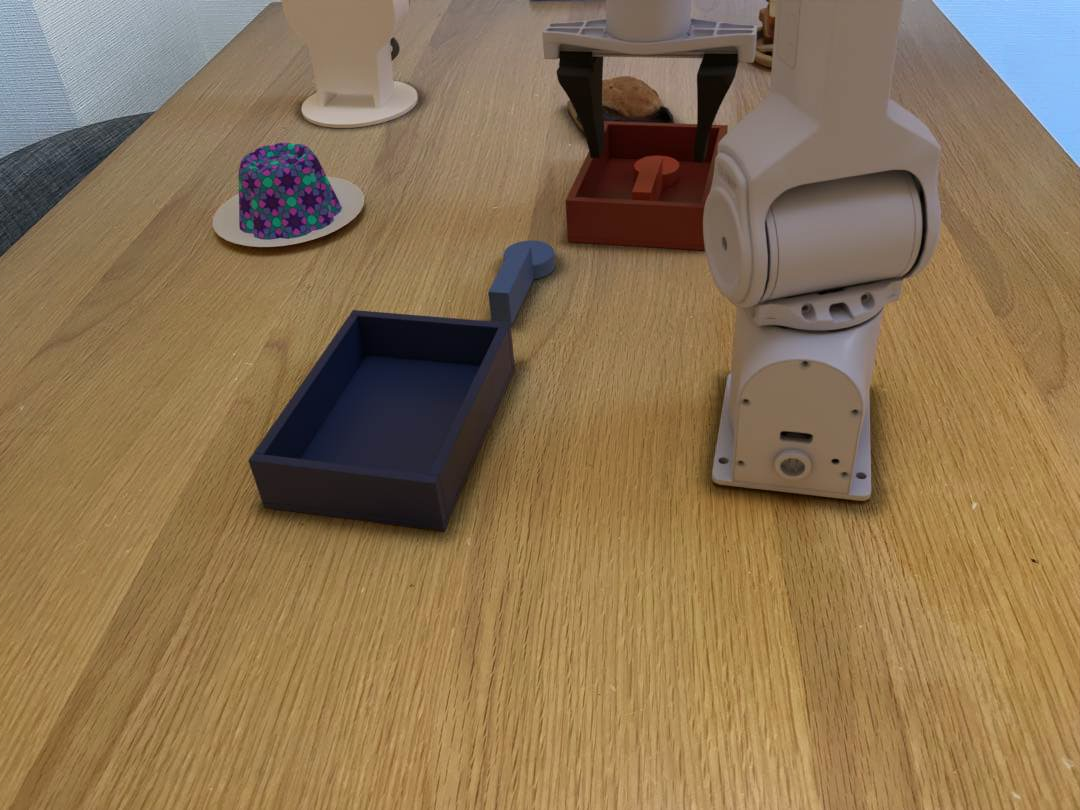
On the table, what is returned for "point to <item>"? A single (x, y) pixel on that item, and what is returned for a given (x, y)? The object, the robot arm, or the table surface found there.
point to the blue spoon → (518, 277)
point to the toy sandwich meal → (766, 35)
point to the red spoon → (654, 176)
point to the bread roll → (629, 102)
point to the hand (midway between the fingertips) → (648, 154)
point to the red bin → (608, 181)
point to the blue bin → (387, 420)
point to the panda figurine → (352, 60)
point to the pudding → (285, 199)
